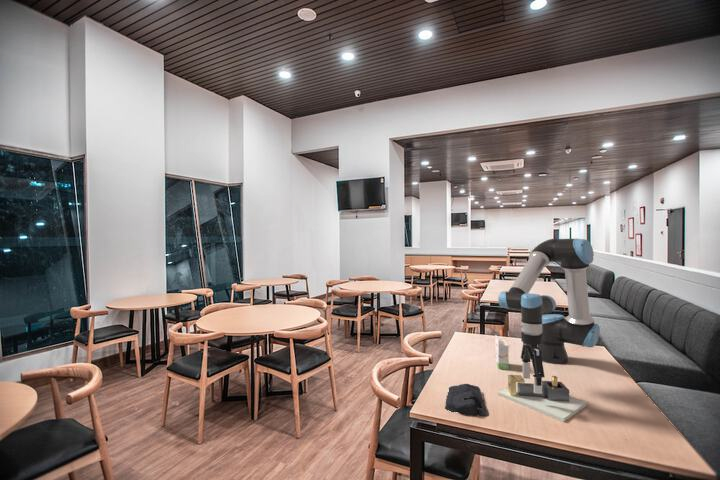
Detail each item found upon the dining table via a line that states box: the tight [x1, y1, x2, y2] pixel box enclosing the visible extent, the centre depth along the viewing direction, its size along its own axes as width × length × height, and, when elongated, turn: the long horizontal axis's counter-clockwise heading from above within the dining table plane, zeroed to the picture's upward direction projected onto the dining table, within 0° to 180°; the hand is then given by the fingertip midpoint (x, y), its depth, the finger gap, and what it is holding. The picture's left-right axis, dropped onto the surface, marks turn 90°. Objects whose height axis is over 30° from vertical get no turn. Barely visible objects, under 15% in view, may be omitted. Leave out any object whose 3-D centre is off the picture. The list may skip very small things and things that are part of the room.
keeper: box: [507, 374, 526, 396], centre depth 136 cm, size 5×5×8 cm
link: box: [517, 380, 570, 402], centre depth 134 cm, size 17×8×4 cm, turn 81°
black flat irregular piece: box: [444, 383, 488, 417], centre depth 133 cm, size 15×22×5 cm
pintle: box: [551, 375, 559, 388], centre depth 133 cm, size 2×2×8 cm
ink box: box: [494, 334, 510, 370], centre depth 168 cm, size 9×5×15 cm, turn 168°
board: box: [497, 380, 587, 423], centre depth 133 cm, size 19×25×1 cm
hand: (531, 385), depth 135 cm, fingers open, 13 cm apart
